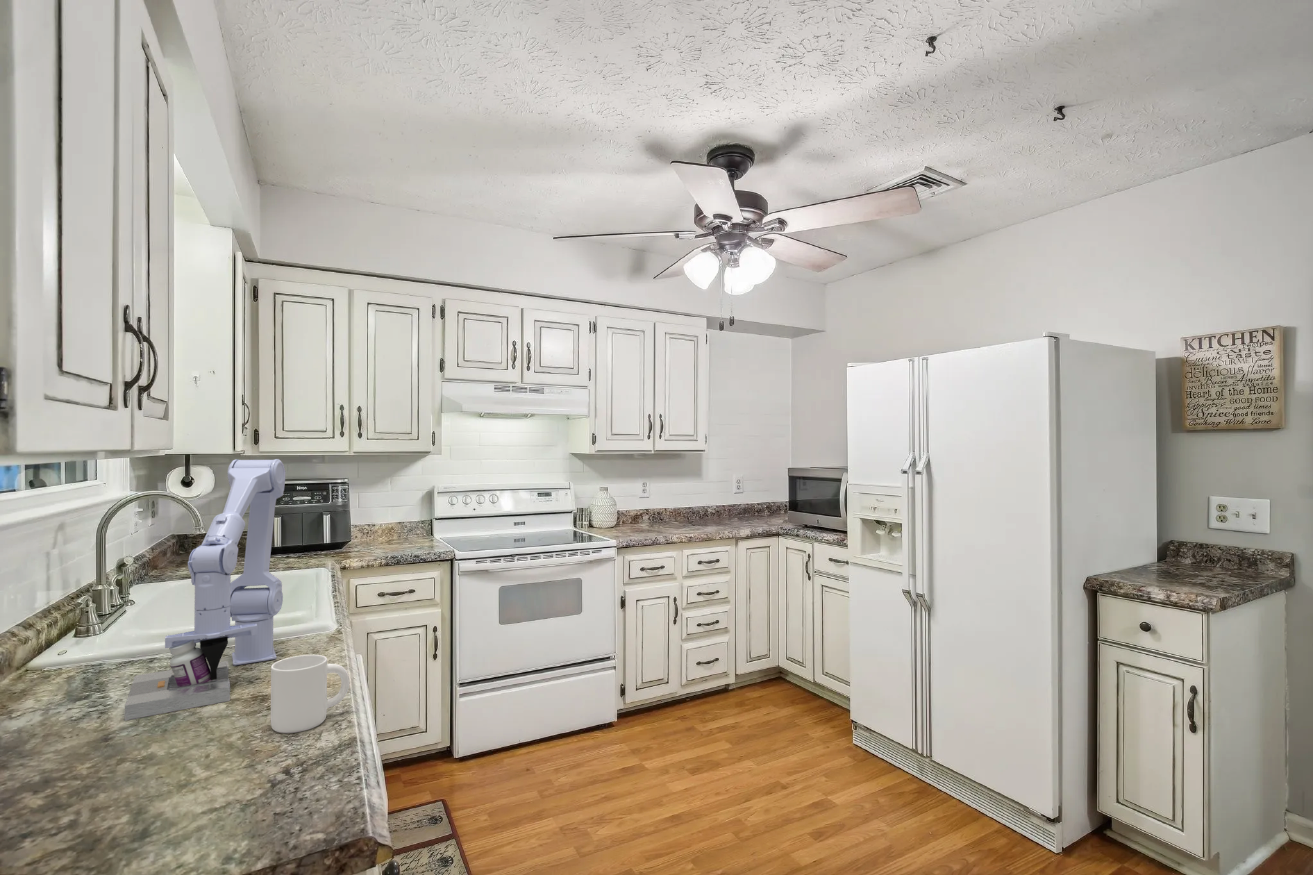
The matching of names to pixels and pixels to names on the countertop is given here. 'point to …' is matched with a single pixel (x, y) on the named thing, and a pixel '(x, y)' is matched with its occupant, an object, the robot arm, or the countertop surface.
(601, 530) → the countertop surface
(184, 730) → the countertop surface
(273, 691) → the mug
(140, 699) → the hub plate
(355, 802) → the countertop surface
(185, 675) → the pill bottle
